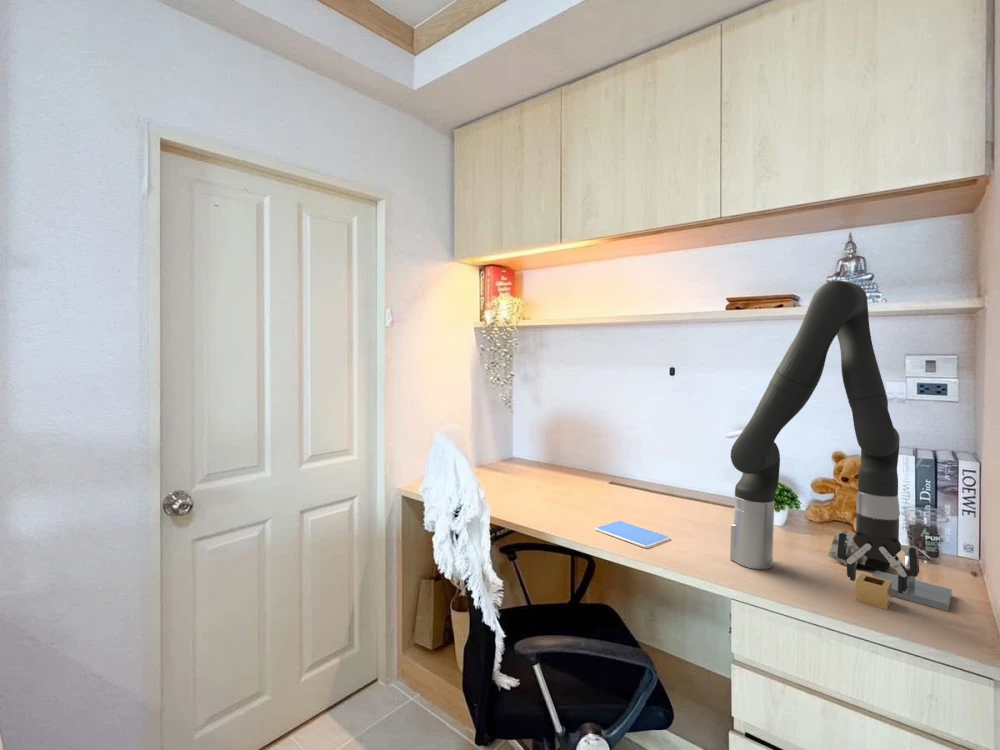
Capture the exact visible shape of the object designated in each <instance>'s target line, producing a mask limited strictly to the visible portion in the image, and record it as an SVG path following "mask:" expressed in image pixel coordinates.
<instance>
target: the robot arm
mask: <svg viewBox="0 0 1000 750" xmlns="http://www.w3.org/2000/svg"><path fill="white" fill-rule="evenodd" d="M868 305H869V303H868V296H867V293H866V291H865V290H864V289H863V288H862V287H861V286H860V285H858V284H856V283H852V282H849V281H844V280H833V281H829V282H826V283H824V284H822V285H821V286H820V287H819V288H818V289H816V291H815V293H814V294H813V295H812V298H811V300H810V303H809V305H808V307H807V311H806V312H805V315H804V318H803V320H802V323H801V326H800V327H799V330H798V331H797V334H796V335H795V337H794V339H793V341H792V342H791V344H790V346H789V347H788V349H787V351H786V353H785V354H784V356H783V358H782V360H781V361H780V363H779V365H778V366H777V368H776V370H775V372H774V373H773V376H772V377H771V378H770V381H769V383H768V385H767V388H766V389H765V391H764V392H763V393H764V394H763V395H762V397H761V399H760V400H759V403H758V404H757V406H756V408H755V411H754V412H753V414H752V416H751V418H750V420H749V421H748V422H747V424H746V425H745V427H744V428H743V430H742V431H741V433H740V434H739V436H738V437H737V439H735V441H734V443H733V444H732V447H731V450H730V460H731V464H732V465H733V467H734V468H735V469H736V470H737V471H739V472H741V473H742V475H741V478H740V480H738V482H737V483H736V484H735V486H734V487H735V488H734V516H733V521H734V522H733V523H731V525H730V546H729V547H730V549H729V551H730V554H729V558H730V559H729V560H730V561H731V562H735V563H736V564H738V565H741V566H743V567H745V568H749V569H754V570H768V569H771V568H772V567H773V559H774V557H773V556H774V554H773V553H774V530H775V529H774V528H775V527H774V526H775V524H774V523H775V497H776V495H775V494H776V492H777V490H778V487H779V480H780V465H781V455H780V450H779V447H778V445H777V443H776V442H775V441H776V438H777V437H778V435H779V434H780V432H781V431H782V430H783V429H784V427H785V426H786V425H788V423H789V422H791V420H792V419H793V418H795V417H796V415H797V414H799V412H800V411H801V410H802V409H803V408H804V407H805V405H806V404H807V403H808V402H809V400H810V398H811V396H812V395H813V393H814V391H815V390H816V388H817V386H818V384H819V382H820V380H821V377H822V375H823V372H824V367H825V363H826V359H827V355H828V352H829V349H830V346H831V345H832V343H833V341H834V339H835V338H836V337H837V339H838V343H839V349H840V358H841V359H840V363H841V366H840V367H841V375H842V377H841V378H842V382H843V383H842V384H843V386H844V390H845V394H846V398H847V400H848V405H849V407H850V409H851V414H852V415H851V416H852V421H853V428H854V433H855V437H856V441H857V444H858V446H859V447H860V467H859V469H858V475H857V477H858V480H857V481H858V482H857V483H858V485H857V497H856V504H855V506H856V509H855V510H856V511H855V512H856V521H855V524H856V527H855V534H851V533H848V532H847V531H845V530H843V531H841V532H840V533H838V534H839V540H838V552H837V557H838V558H839V559H842V560H844V561H846V563H847V566H846V576H847V577H848V578H849V580H850V581H851V582H856V580H857V566H856V563H855V561H856V560H857V559H859V558H860V557H861V556H862V555H863V554H864V555H865V556H866V557H867V558H870V559H877V560H880V561H884V562H885V561H889V563H890V566H892V568H893V569H895V571H896V572H897V574H898V575H897V576H898V593H901V594H902V593H903V591H904V592H906V590H907V588H908V577H909V576H913V577H915V578H916V577H918V576H919V573H920V561H919V547H918V546H917V545H914V544H913V545H906V544H905V545H904V544H901V542H900V515H901V511H900V502H899V478H898V463H899V454H900V439H901V438H900V434H899V432H898V430H897V429H896V427H894V425H893V421H892V419H891V418H892V417H891V414H890V412H889V402H888V401H889V399H888V395H887V392H886V389H885V385H884V382H883V379H882V378H883V377H882V375H881V372H880V368H879V365H878V362H877V357H876V353H875V350H874V344H873V340H872V336H871V329H870V328H871V327H870V319H869V306H868ZM851 540H854V542H855V544H856V545H857V546H858V548H859V549H858V550H857V551H855V552H854V553H853V554H852V555H851V556H850V555H848V554H846V548H847V543H849V542H850V541H851ZM901 551H902V552H904V556H905V555H906V556H908V557H909V559H910V568H909V569H907V568H906V567H905V566H904V565H905V564H904V563H903V562H902V560H901V557H899V556H898V555H897V554H898V553H900V552H901Z"/></svg>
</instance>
